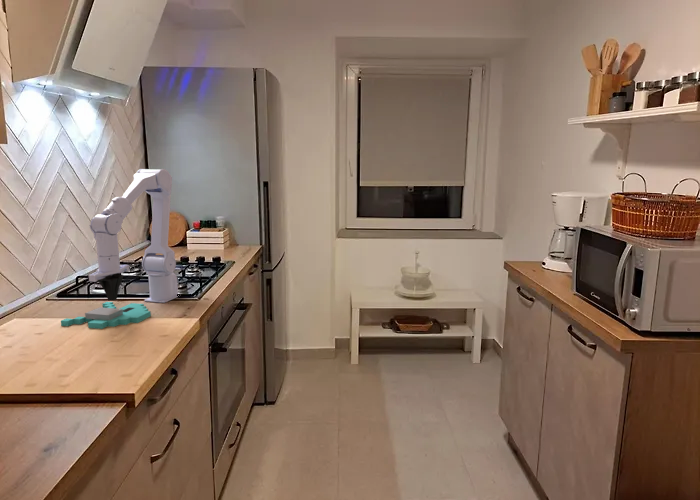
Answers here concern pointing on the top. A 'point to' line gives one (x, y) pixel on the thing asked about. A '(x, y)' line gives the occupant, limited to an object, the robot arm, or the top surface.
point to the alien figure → (130, 315)
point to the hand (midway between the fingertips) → (112, 299)
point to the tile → (103, 313)
